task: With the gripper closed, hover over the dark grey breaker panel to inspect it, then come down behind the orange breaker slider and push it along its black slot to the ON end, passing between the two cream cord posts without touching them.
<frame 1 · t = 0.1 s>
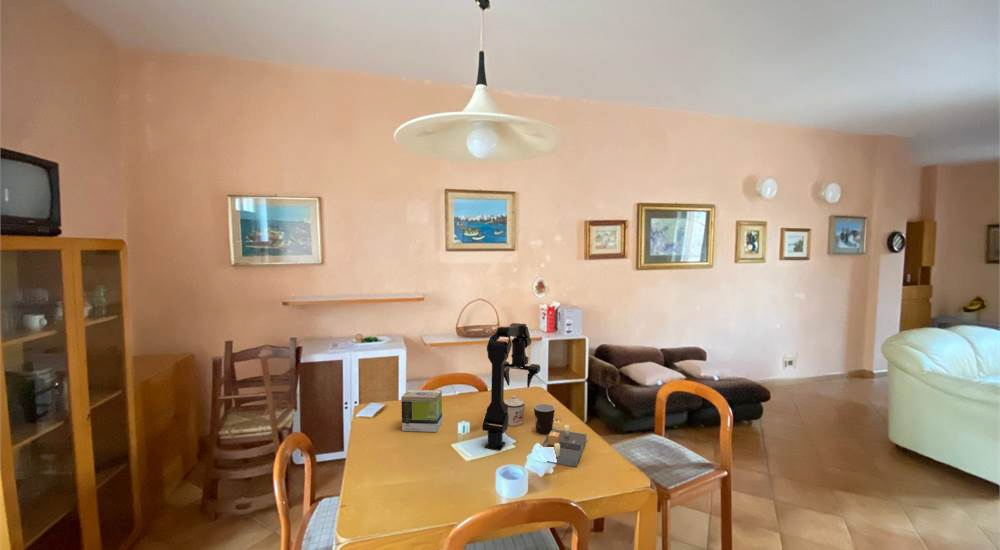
hand: (518, 386, 185), 15 cm above the table, fingers open, 9 cm apart
breaker slider: (554, 438, 155), point 4 cm above the table, slide at 0.0 cm
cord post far: (566, 435, 162), point 2 cm above the table, touching breaker panel
teacup with lid: (515, 421, 182), on the table
coffee mug: (544, 430, 174), on the table
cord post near: (557, 455, 146), point 2 cm above the table, touching breaker panel
breaker panel: (562, 449, 156), on the table
tea box: (422, 427, 176), on the table
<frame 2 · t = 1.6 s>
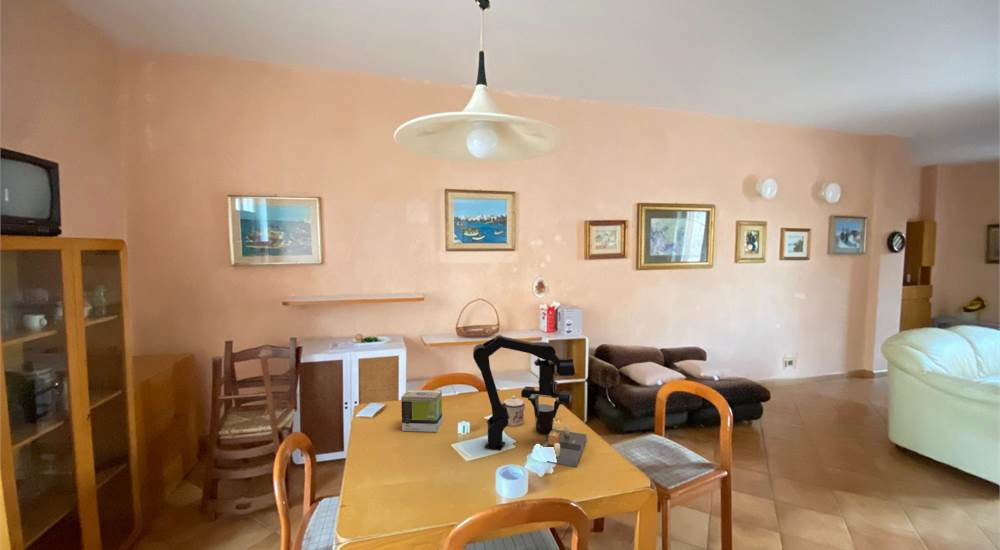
hand: (546, 416, 160), 11 cm above the table, fingers open, 6 cm apart
nothing on the table moved.
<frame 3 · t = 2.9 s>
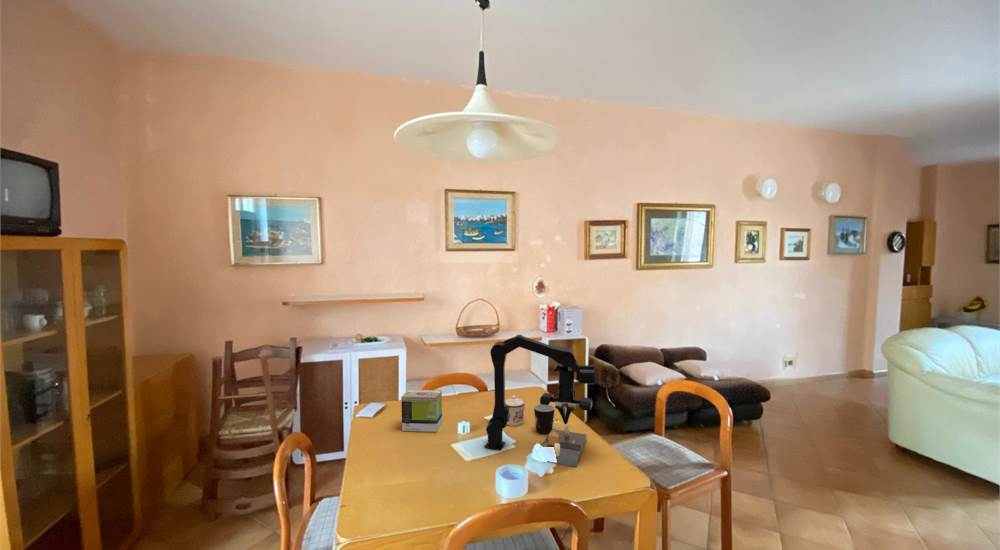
hand: (565, 423, 155), 10 cm above the table, fingers closed
nothing on the table moved.
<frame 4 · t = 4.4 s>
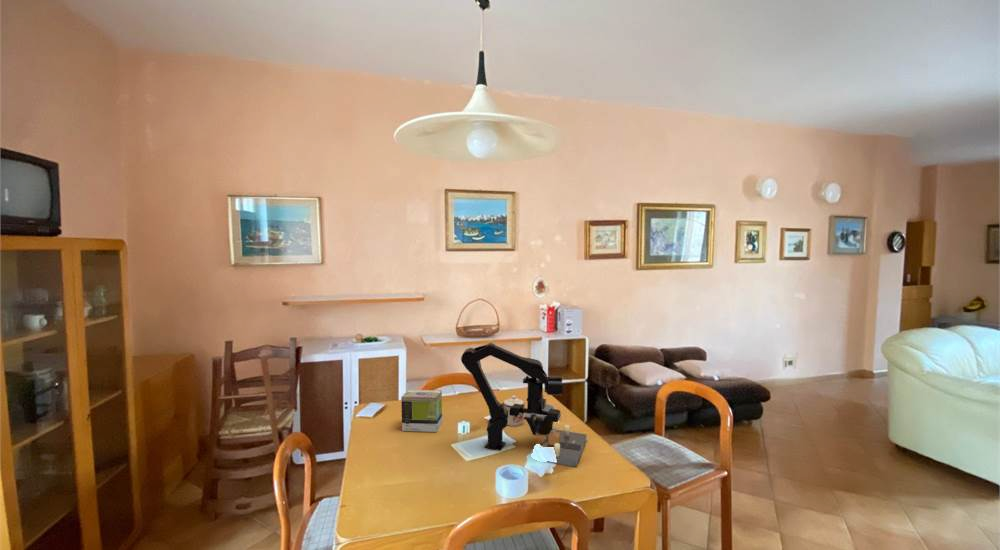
hand: (534, 434, 158), 5 cm above the table, fingers closed
nothing on the table moved.
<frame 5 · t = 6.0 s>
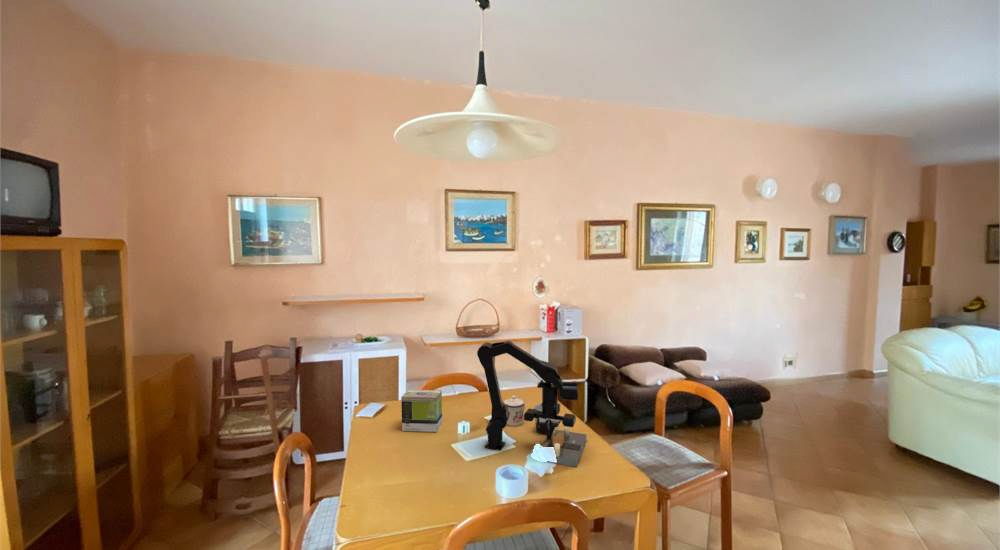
hand: (549, 439, 156), 4 cm above the table, fingers closed
breaker slider: (558, 439, 155), point 4 cm above the table, slide at 1.5 cm, touching gripper
everything else where it was.
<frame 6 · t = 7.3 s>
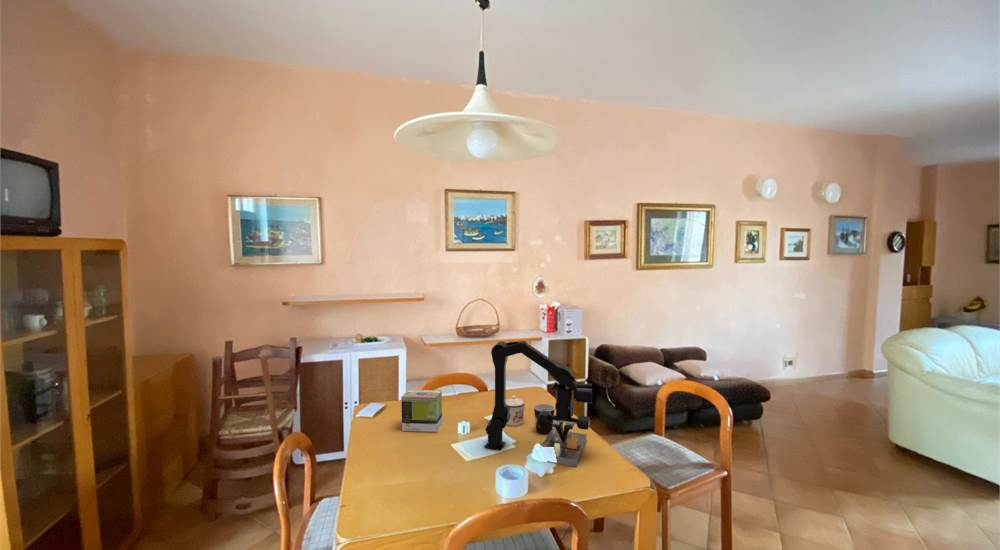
hand: (563, 442, 154), 4 cm above the table, fingers closed
breaker slider: (572, 441, 153), point 4 cm above the table, slide at 6.9 cm, touching gripper
everything else where it was.
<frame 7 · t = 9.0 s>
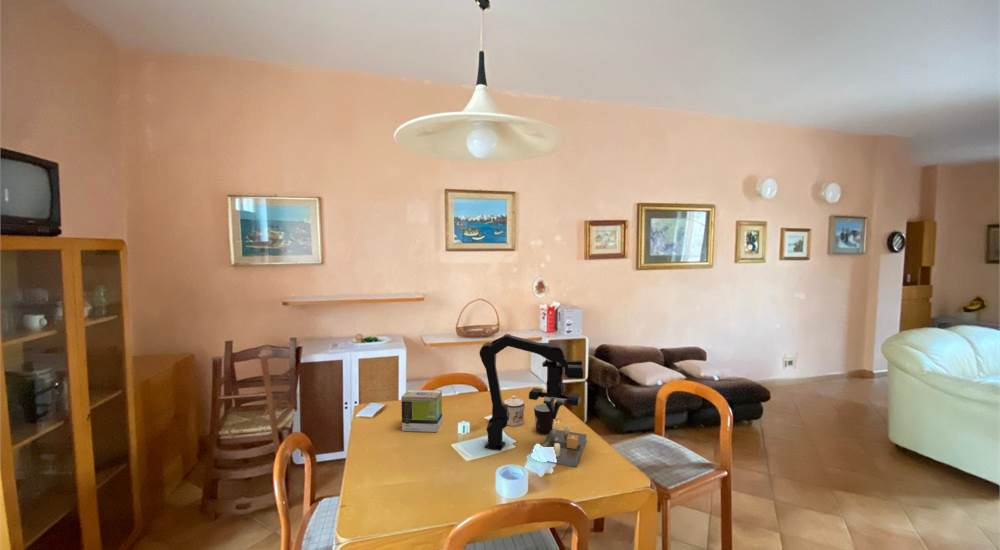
hand: (554, 418, 157), 11 cm above the table, fingers closed
breaker slider: (572, 441, 153), point 4 cm above the table, slide at 6.9 cm
everything else where it was.
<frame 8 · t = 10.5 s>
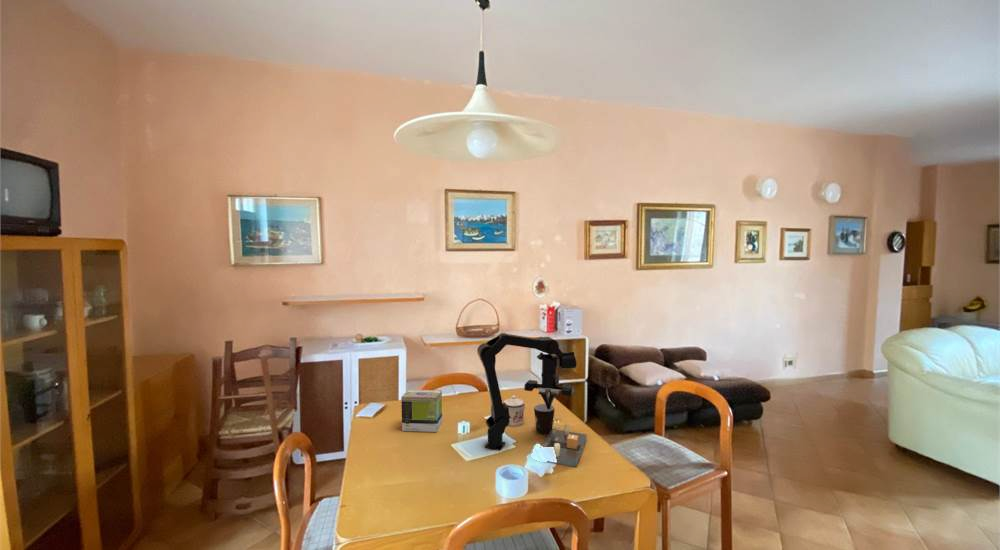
hand: (548, 409, 163), 12 cm above the table, fingers closed
nothing on the table moved.
at the end: breaker slider slide at 6.9 cm; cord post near moved 0.0 cm from its start; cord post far moved 0.0 cm from its start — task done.
